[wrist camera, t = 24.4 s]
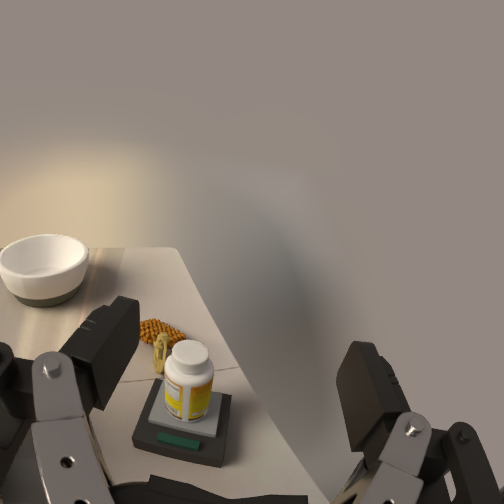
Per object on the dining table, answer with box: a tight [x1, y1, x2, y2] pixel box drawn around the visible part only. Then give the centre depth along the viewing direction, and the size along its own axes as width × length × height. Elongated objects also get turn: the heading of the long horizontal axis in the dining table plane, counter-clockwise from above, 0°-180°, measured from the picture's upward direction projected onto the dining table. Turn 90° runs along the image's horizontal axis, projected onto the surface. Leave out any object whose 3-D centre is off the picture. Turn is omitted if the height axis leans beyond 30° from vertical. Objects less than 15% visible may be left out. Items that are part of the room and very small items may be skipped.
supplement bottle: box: [164, 340, 214, 422], centre depth 31 cm, size 6×6×10 cm
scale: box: [132, 378, 232, 468], centre depth 32 cm, size 11×11×3 cm
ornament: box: [140, 319, 186, 374], centre depth 45 cm, size 7×10×15 cm
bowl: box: [0, 234, 89, 307], centre depth 51 cm, size 22×22×8 cm
